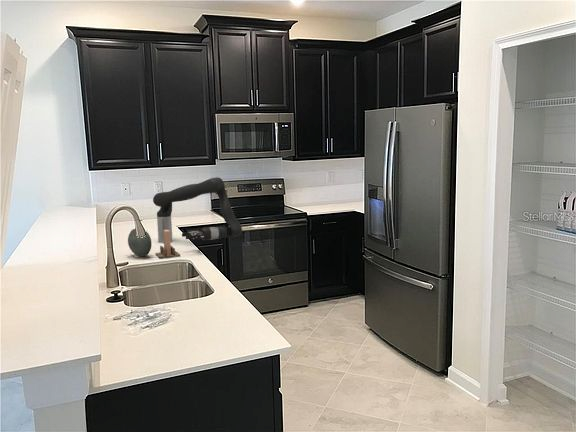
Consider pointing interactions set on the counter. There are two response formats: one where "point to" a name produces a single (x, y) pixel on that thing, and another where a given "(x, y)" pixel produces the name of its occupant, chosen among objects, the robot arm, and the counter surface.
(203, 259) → the counter surface
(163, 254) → the walnut rack
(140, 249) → the dark green ellipsoid
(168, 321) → the counter surface
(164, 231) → the terracotta card
